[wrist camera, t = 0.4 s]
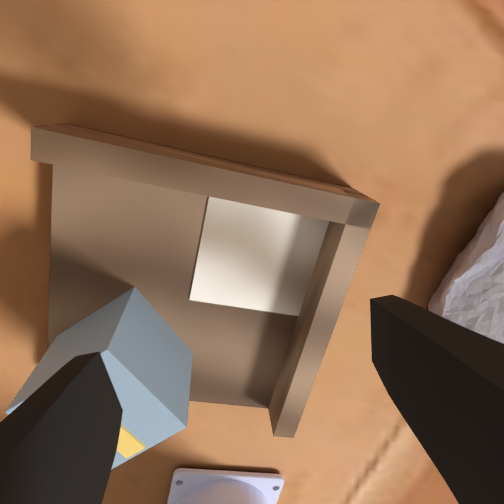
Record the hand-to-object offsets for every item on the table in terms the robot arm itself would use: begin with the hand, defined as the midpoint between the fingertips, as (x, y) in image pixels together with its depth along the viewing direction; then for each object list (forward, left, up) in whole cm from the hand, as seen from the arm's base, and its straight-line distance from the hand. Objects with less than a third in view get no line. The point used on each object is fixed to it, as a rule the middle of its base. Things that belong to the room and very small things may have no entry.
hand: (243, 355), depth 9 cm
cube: (-7, +4, -9) cm, 12 cm away
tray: (-3, +1, -10) cm, 10 cm away
